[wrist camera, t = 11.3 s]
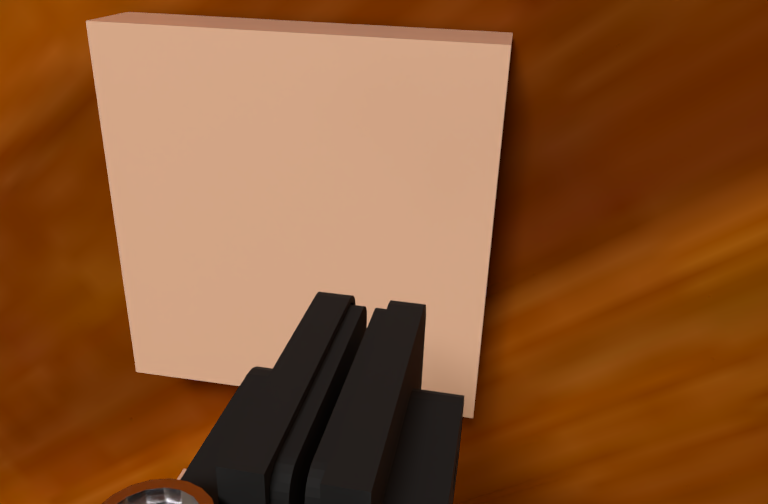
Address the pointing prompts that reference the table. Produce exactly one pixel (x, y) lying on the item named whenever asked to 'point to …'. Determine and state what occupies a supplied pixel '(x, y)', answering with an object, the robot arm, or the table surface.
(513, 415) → the table surface
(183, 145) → the tile
